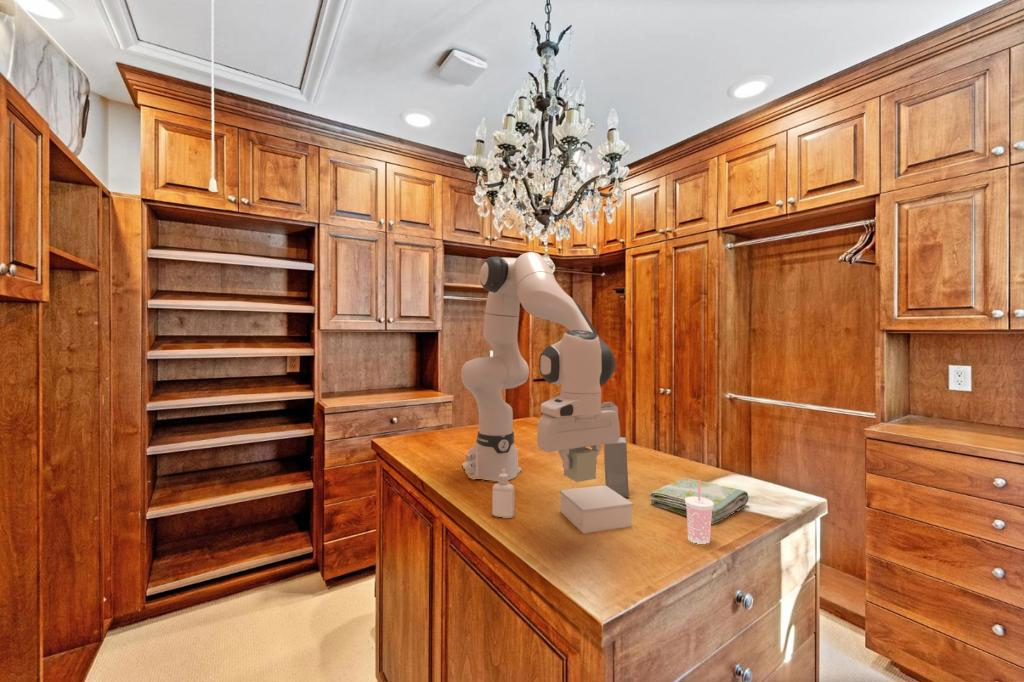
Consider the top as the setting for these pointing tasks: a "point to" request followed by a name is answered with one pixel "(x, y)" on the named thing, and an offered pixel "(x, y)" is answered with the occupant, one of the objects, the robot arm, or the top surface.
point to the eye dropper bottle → (503, 497)
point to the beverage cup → (699, 517)
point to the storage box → (596, 508)
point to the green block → (581, 464)
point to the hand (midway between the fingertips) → (579, 466)
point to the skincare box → (616, 467)
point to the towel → (721, 496)
